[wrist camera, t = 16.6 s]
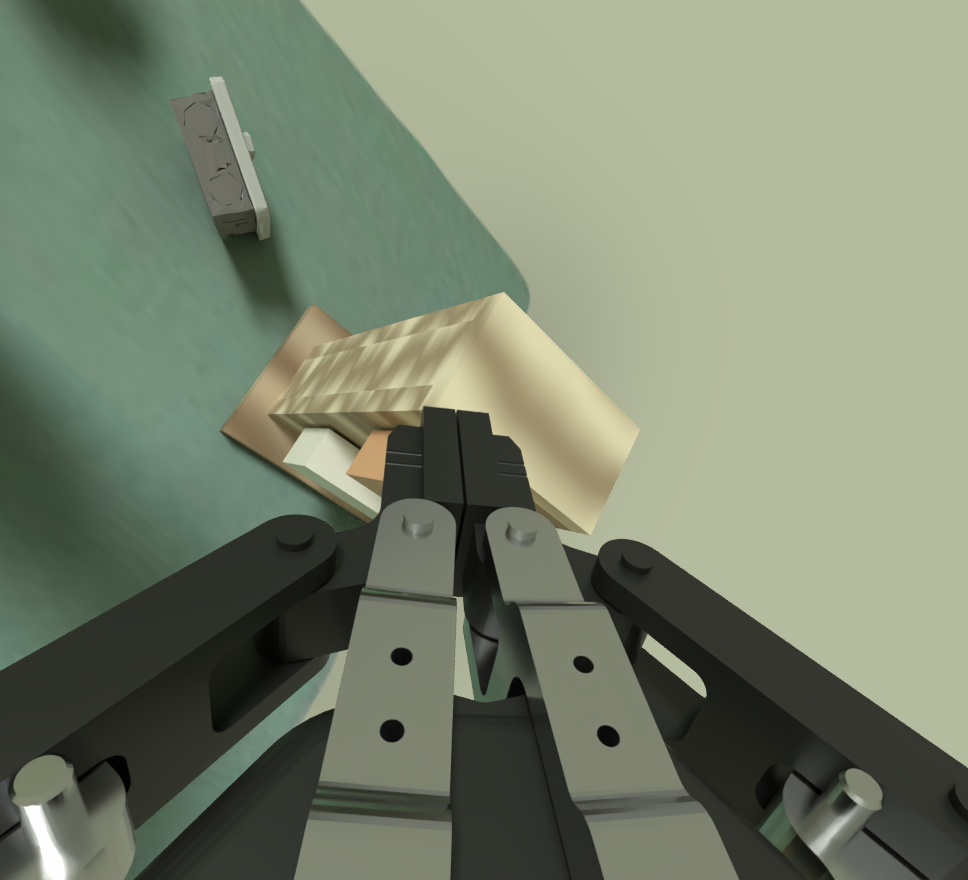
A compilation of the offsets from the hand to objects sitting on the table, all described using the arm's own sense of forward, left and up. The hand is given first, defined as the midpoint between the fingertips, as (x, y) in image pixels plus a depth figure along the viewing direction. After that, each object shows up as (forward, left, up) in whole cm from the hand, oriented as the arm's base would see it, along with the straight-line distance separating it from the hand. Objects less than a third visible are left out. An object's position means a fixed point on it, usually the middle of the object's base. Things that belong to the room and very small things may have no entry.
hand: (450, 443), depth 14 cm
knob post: (+13, -3, -41) cm, 43 cm away
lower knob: (+11, -5, -33) cm, 35 cm away
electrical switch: (+8, +17, -41) cm, 45 cm away
